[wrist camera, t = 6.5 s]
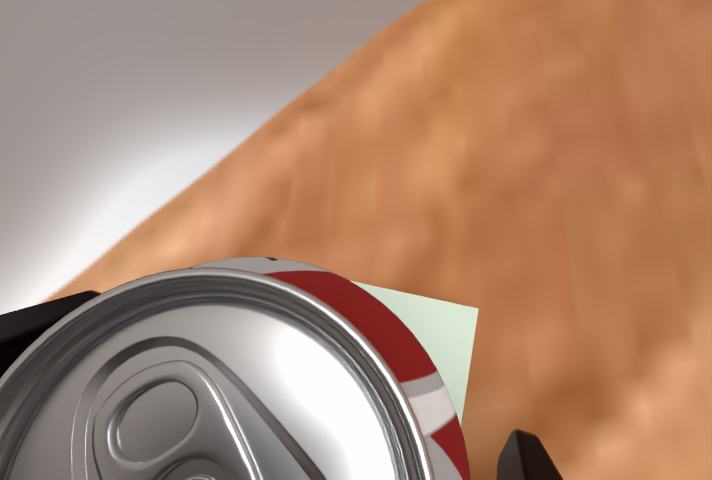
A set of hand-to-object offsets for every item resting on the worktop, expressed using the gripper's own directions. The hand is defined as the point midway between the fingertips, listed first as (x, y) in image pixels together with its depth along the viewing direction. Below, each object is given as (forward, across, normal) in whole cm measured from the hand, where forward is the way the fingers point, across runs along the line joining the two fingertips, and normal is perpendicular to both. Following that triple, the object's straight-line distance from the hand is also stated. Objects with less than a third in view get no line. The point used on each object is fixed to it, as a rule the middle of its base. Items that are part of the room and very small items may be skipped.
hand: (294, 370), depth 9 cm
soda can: (+4, 0, +7) cm, 8 cm away
